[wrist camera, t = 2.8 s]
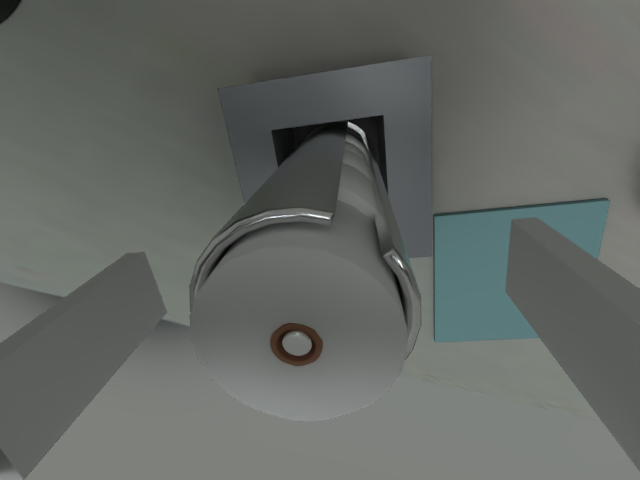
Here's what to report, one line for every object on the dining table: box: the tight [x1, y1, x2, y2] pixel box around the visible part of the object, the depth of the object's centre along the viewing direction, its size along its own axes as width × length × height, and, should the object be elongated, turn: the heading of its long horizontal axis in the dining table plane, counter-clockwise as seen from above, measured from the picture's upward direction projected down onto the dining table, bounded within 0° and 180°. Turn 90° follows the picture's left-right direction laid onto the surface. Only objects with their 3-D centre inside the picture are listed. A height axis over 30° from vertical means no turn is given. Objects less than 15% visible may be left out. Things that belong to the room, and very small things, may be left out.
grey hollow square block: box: [218, 55, 432, 258], centre depth 28 cm, size 14×14×8 cm
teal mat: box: [433, 198, 610, 342], centre depth 34 cm, size 15×15×1 cm
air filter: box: [189, 121, 421, 422], centre depth 20 cm, size 6×6×25 cm
